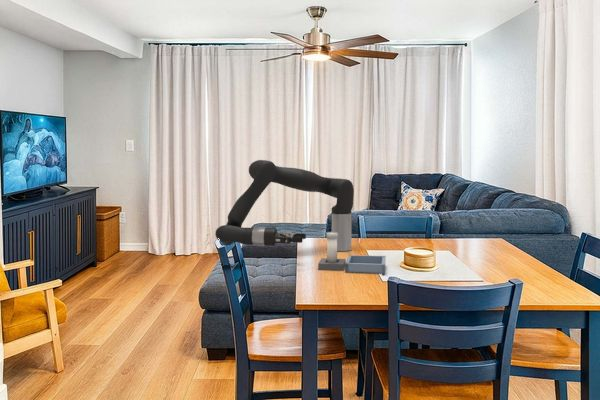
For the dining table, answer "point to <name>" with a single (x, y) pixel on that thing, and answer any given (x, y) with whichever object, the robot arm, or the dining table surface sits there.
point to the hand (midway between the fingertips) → (304, 238)
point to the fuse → (332, 247)
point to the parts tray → (365, 264)
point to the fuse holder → (331, 265)
